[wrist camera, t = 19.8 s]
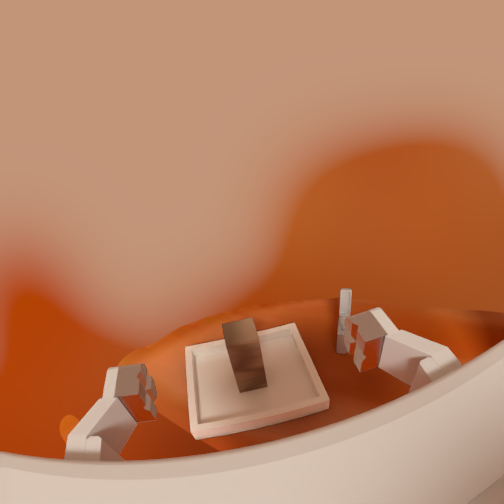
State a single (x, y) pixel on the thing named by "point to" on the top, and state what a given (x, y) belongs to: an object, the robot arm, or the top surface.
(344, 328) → the lighter
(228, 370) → the tray
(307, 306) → the top surface
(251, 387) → the walnut block
